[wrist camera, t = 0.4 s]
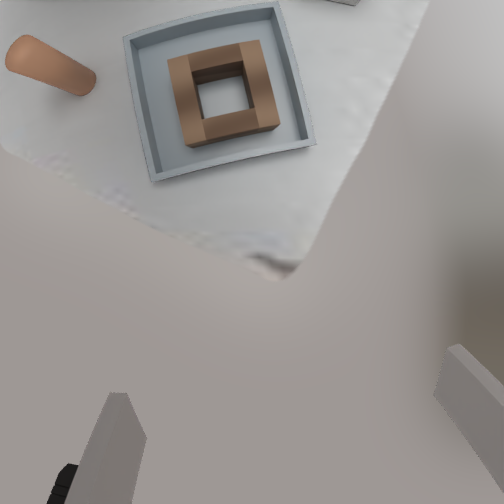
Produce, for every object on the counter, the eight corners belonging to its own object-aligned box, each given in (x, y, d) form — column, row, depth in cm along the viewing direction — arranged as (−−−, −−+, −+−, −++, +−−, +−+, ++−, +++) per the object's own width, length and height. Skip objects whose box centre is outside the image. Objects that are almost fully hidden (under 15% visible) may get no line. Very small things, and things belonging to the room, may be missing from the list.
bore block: (176, 74, 30) (166, 59, 25) (255, 56, 30) (259, 39, 25) (192, 148, 33) (185, 145, 27) (273, 130, 33) (280, 123, 27)
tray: (133, 48, 29) (122, 37, 25) (273, 16, 29) (278, 1, 25) (160, 180, 34) (151, 182, 30) (307, 146, 34) (316, 144, 30)
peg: (70, 76, 29) (5, 46, 16) (94, 65, 29) (34, 27, 16) (73, 100, 30) (5, 78, 17) (97, 89, 30) (35, 59, 17)
